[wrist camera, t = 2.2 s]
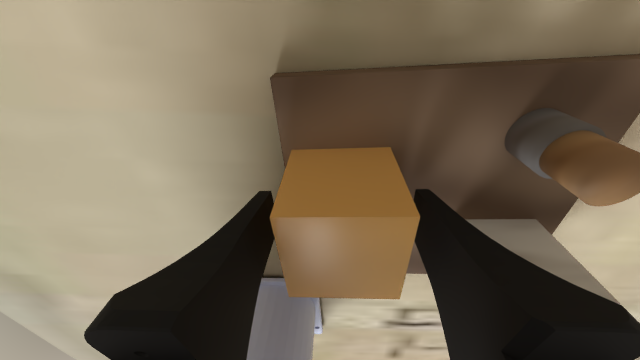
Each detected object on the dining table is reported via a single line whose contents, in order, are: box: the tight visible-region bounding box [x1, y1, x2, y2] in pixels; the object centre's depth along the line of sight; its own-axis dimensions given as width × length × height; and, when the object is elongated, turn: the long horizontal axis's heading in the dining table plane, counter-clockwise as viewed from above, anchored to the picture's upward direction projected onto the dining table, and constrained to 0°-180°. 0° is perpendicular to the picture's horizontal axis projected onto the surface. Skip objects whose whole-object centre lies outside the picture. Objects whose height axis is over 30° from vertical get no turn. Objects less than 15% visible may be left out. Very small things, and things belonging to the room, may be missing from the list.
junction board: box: [270, 54, 640, 304], centre depth 12 cm, size 14×16×6 cm
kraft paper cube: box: [270, 147, 420, 299], centre depth 11 cm, size 5×5×5 cm
